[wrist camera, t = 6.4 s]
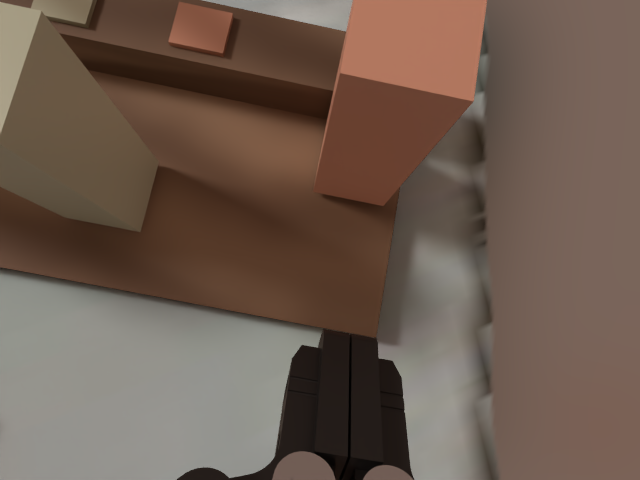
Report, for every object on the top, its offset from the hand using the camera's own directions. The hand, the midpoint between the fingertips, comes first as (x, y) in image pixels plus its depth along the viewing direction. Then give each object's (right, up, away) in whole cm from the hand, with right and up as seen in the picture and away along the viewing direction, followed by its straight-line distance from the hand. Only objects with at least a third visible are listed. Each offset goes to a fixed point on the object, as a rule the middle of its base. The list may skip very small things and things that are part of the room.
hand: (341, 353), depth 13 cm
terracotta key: (+1, +7, +10) cm, 12 cm away
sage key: (-10, +6, +9) cm, 15 cm away
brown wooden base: (-10, +7, +11) cm, 16 cm away
